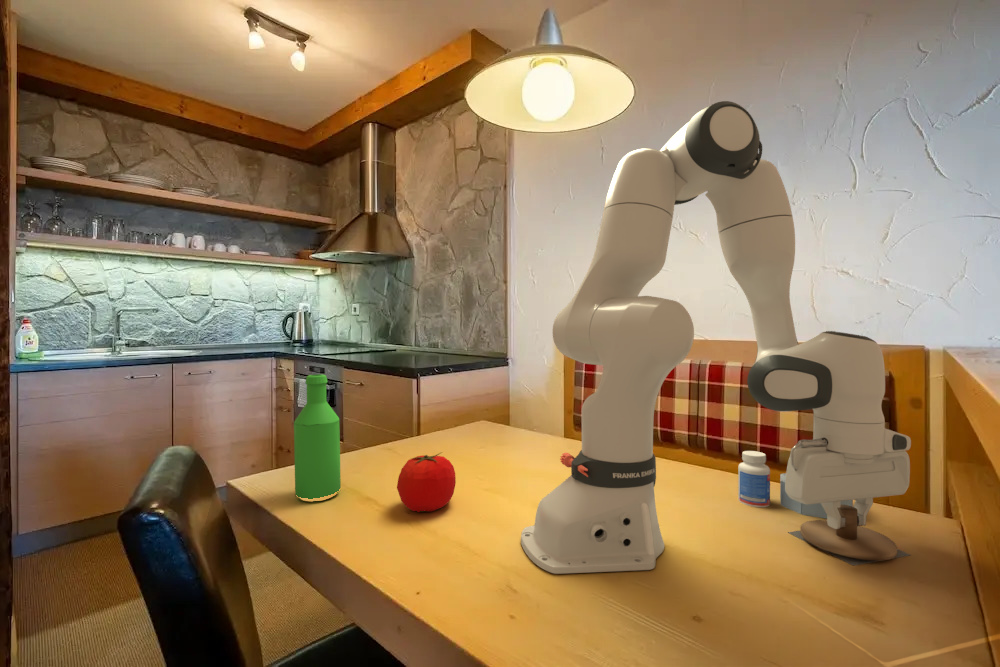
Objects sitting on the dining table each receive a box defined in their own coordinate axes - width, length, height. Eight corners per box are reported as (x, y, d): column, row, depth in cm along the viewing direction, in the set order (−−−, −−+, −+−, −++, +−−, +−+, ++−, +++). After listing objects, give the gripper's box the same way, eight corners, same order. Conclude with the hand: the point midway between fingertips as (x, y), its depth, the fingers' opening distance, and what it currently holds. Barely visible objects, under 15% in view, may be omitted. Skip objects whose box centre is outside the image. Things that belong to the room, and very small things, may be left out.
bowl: (817, 523, 81) (817, 495, 81) (766, 500, 92) (766, 475, 92) (866, 516, 84) (866, 488, 84) (811, 495, 95) (811, 470, 95)
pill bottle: (774, 510, 87) (774, 458, 87) (743, 508, 88) (743, 456, 88) (764, 499, 93) (764, 450, 93) (734, 497, 94) (734, 449, 94)
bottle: (341, 500, 94) (339, 376, 94) (294, 506, 91) (292, 378, 91) (339, 486, 103) (337, 372, 102) (296, 492, 99) (293, 374, 99)
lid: (852, 564, 65) (853, 527, 65) (782, 528, 77) (782, 497, 77) (918, 555, 68) (919, 519, 68) (841, 521, 80) (841, 491, 80)
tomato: (470, 502, 93) (469, 450, 93) (426, 525, 82) (425, 467, 82) (427, 491, 99) (426, 442, 99) (381, 511, 88) (380, 457, 88)
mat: (853, 568, 67) (853, 565, 67) (787, 534, 77) (787, 532, 77) (911, 557, 69) (911, 554, 69) (840, 526, 80) (840, 524, 80)
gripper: (810, 445, 67) (809, 542, 67) (919, 438, 72) (918, 528, 72) (774, 435, 73) (774, 524, 73) (877, 429, 78) (876, 512, 78)
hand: (846, 526), depth 73 cm, fingers closed on lid, 3 cm apart
